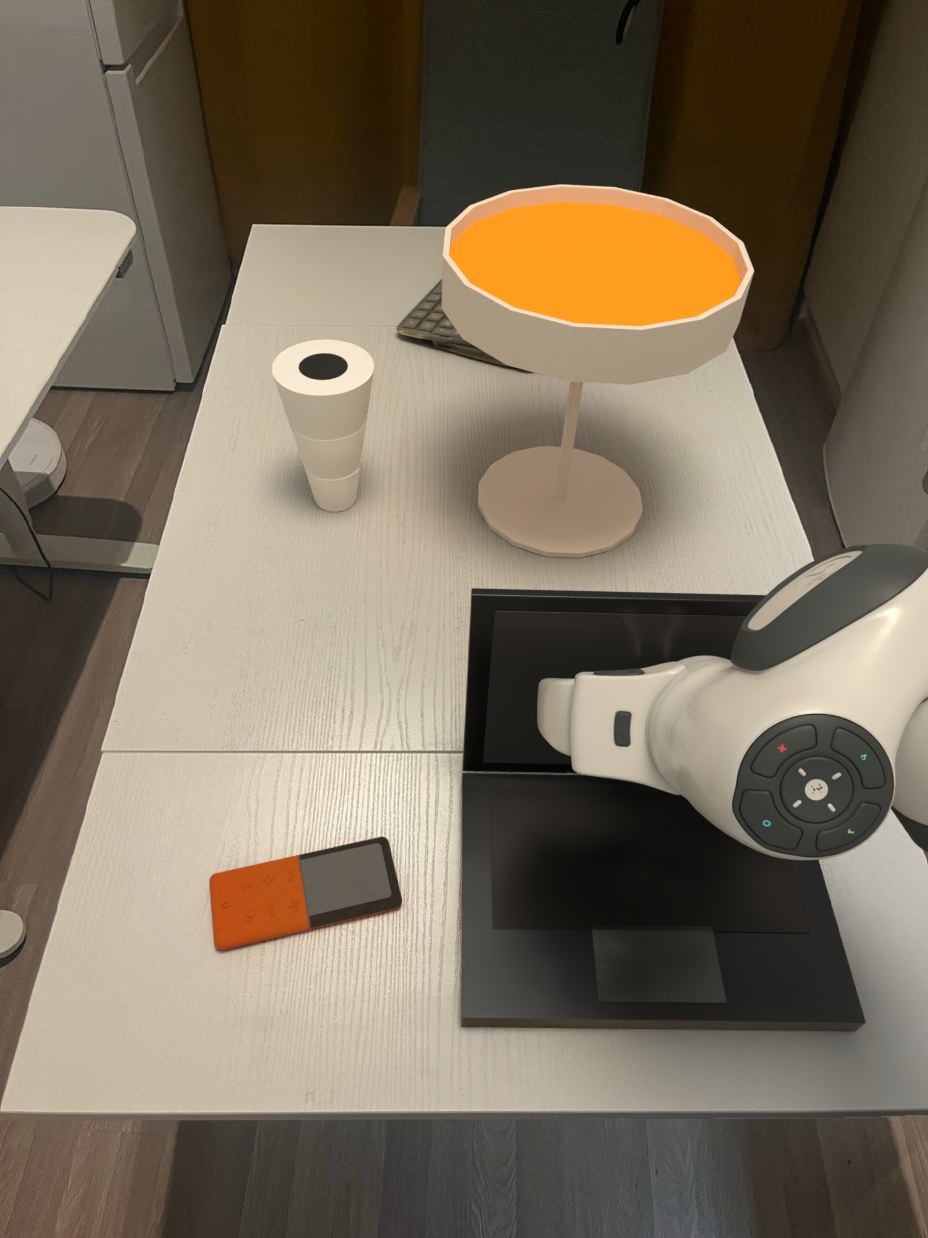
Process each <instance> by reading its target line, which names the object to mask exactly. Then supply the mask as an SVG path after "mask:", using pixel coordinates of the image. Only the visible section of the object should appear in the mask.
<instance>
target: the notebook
mask: <svg viewBox="0 0 928 1238" xmlns="http://www.w3.org/2000/svg"><path fill="white" fill-rule="evenodd" d="M460 801H461V809H460V810H461V813H460V814H461V815H460V817H461V818H460V819H461V824H460V825H461V827H460V828H461V830H460V832H461V837H460V838H461V842H460V844H461V847H460V848H461V850H460V852H461V855H460V856H461V859H460V860H461V861H460V862H461V863H460V867H461V868H460V871H461V872H460V873H461V874H460V875H461V878H460V880H461V881H460V885H461V886H460V890H461V891H460V897H461V898H460V906H461V907H460V915H461V916H460V918H461V919H460V929H461V930H460V932H461V933H460V942H461V943H460V953H461V954H460V958H461V959H460V973H461V974H460V1027H462V1028H524V1029H525V1028H526V1029H527V1028H530V1029H531V1028H532V1029H535V1028H536V1029H537V1028H538V1029H539V1028H540V1029H542V1028H543V1029H614V1030H615V1029H617V1030H618V1029H620V1030H621V1029H623V1030H624V1029H626V1030H627V1029H629V1030H630V1029H631V1030H714V1031H716V1030H718V1031H721V1030H722V1031H798V1032H800V1031H802V1032H805V1031H808V1032H857V1031H858V1030H859V1029H860V1028H861V1027H862V1026H863V1025H865V1024H866V1018H865V1014H864V1012H863V1008H862V1005H861V1001H860V998H859V995H858V991H857V987H856V984H855V981H854V976H853V974H852V970H851V966H850V963H849V960H848V959H849V958H848V957H847V953H846V949H845V946H844V942H843V939H842V936H841V932H840V928H839V926H838V921H837V918H836V915H835V912H834V908H833V905H832V900H831V898H830V894H829V890H828V887H827V884H826V881H825V877H824V874H823V869H822V867H821V863H820V860H790V859H783V858H777V857H773V856H770V855H767V854H764V853H761V852H759V851H756V850H754V849H752V848H750V847H748V846H746V845H744V844H742V843H741V842H739V841H737V840H736V839H734V838H732V837H731V836H729V835H727V834H726V833H724V832H723V831H721V830H720V829H719V828H717V827H716V826H715V825H713V824H712V823H711V822H710V821H708V820H707V819H706V818H705V817H704V816H703V815H701V814H700V813H699V812H698V811H697V810H696V809H695V808H694V807H693V806H692V805H691V803H690V802H689V801H688V800H687V799H686V798H685V797H683V796H682V795H681V794H680V795H675V794H672V793H669V792H665V791H662V790H660V789H657V788H654V787H651V786H647V785H644V784H640V783H632V782H626V781H620V780H614V779H606V778H598V777H595V776H587V775H582V774H556V773H501V772H462V773H461V800H460Z"/></svg>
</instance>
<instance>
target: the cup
mask: <svg viewBox="0 0 928 1238" xmlns="http://www.w3.org/2000/svg"><path fill="white" fill-rule="evenodd" d="M374 371H375V362H374V359H373V357H372V356H371V354H370V353H369V352H368V351H366V350H365V349H364V348H362V347H360V346H359V345H356V344H354V343H351V342H348V341H344V340H338V339H312V340H307V341H304V342H300V343H297V344H294V345H291V346H289V347H288V348H285V349H284V350H282V351H281V352H280V353H279V354H278V355H277V356H276V357H275V358H274V360H273V362H272V364H271V373H272V377H273V379H274V383H275V385H276V388H277V392H278V394H279V398H280V400H281V404H282V406H283V410H284V412H285V415H286V418H287V420H288V423H289V427H290V430H291V433H292V436H293V438H294V441H295V444H296V447H297V450H298V453H299V456H300V459H301V462H302V464H303V468H304V471H305V474H306V478H307V480H308V484H309V487H310V489H311V492H312V496H313V498H314V501H315V504H316V505H317V506H318V508H319V509H321V510H323V511H326V512H329V513H331V512H332V513H338V512H343V511H347V510H349V509H350V508H352V506H353V505H354V504H356V500H357V491H358V485H359V484H358V483H359V479H360V470H361V464H362V462H361V460H362V454H363V448H364V442H365V435H366V428H367V421H368V414H369V407H370V402H371V394H372V386H373V380H374Z"/></svg>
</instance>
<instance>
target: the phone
mask: <svg viewBox="0 0 928 1238" xmlns="http://www.w3.org/2000/svg"><path fill="white" fill-rule="evenodd" d="M392 853H393V852H392V850H391V845H390V841H389V839H388V838H387V837H386V836H377V837H374V838H369V839H364V840H360V841H359V840H358V841H354V842H350V843H346V844H342V845H337V846H333V847H332V846H331V847H328V848H324V849H318V850H315V851H310V852H305V853H300V854H296V855H292V856H287V857H282V858H278V859H273V860H269V861H265V862H260V863H256V864H251V865H245V866H241V867H237V868H233V869H228V870H223V871H220V872H215V873H213V874H212V875H211V876H210V877H209V880H208V882H209V883H208V884H209V894H210V895H209V896H210V907H211V919H212V920H211V921H212V931H213V943H214V947H215V948H216V949H217V950H219V951H226V950H230V949H233V948H238V947H242V946H247V945H250V944H254V943H259V942H263V941H264V942H265V941H268V940H272V939H275V938H280V937H285V936H288V935H292V934H297V933H302V932H305V931H309V930H313V929H318V928H322V927H326V926H331V925H334V924H340V923H342V922H343V923H344V922H346V921H351V920H356V919H360V918H364V917H368V916H371V915H377V914H381V913H384V912H390V911H394V910H397V909H399V908H400V907H401V906H402V905H403V898H402V897H403V896H402V893H401V889H400V883H399V880H398V875H397V871H396V867H395V862H394V858H393V854H392Z"/></svg>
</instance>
